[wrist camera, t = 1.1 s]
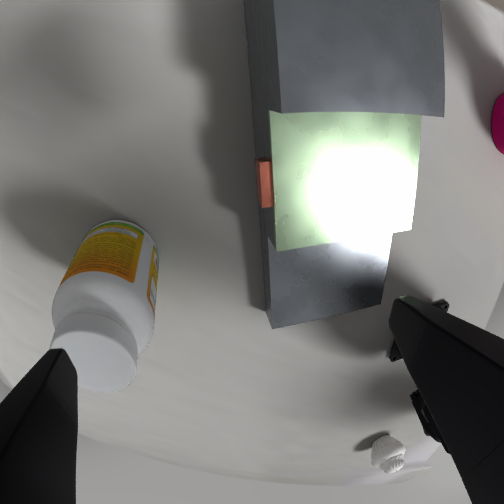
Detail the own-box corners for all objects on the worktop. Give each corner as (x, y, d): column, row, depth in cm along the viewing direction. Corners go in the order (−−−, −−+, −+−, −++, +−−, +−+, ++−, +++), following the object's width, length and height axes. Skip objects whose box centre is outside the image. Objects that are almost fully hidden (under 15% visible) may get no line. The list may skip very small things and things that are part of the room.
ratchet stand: (369, 290, 26) (405, 335, 21) (258, 313, 25) (278, 371, 20) (378, 2, 15) (436, -13, 10) (232, -10, 14) (254, -49, 8)
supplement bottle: (67, 247, 19) (14, 349, 11) (125, 201, 19) (85, 293, 10) (117, 301, 22) (97, 413, 13) (175, 263, 21) (177, 376, 13)
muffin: (388, 443, 46) (404, 472, 40) (359, 453, 45) (374, 484, 39) (401, 425, 43) (419, 457, 37) (371, 436, 42) (388, 470, 36)
